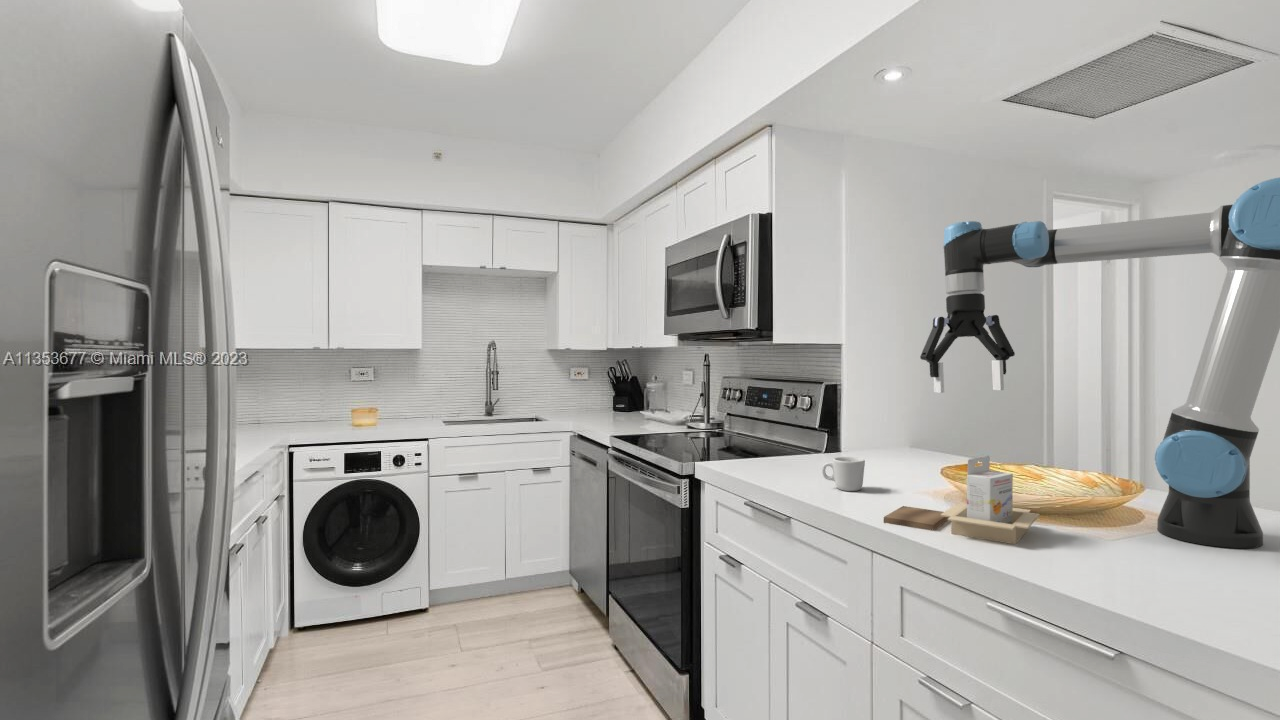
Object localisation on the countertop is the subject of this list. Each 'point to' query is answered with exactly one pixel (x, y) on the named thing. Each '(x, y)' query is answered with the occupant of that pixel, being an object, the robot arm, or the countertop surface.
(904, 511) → the walnut board
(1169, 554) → the countertop surface
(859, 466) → the cup
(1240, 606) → the countertop surface
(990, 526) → the beige tray
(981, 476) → the ink box
